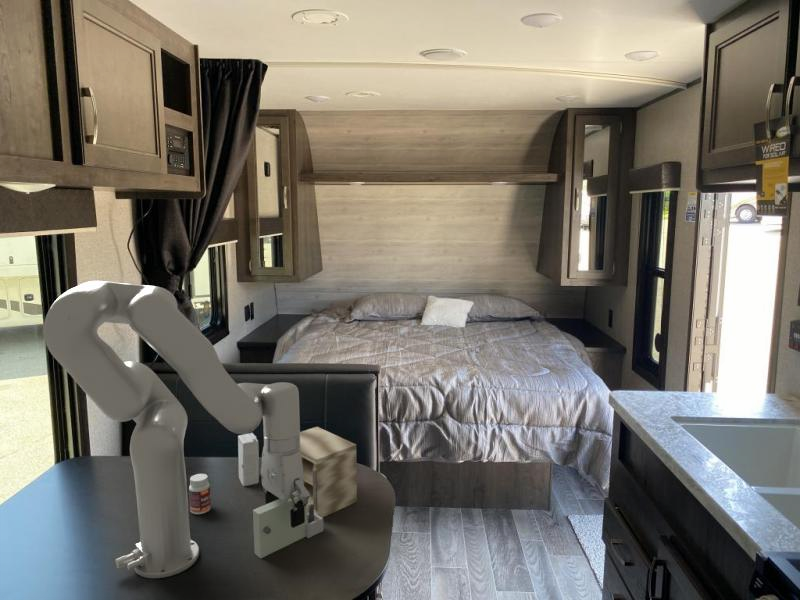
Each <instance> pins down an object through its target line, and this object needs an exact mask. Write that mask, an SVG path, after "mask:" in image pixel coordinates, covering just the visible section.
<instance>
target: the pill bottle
mask: <svg viewBox="0 0 800 600" xmlns="http://www.w3.org/2000/svg"><path fill="white" fill-rule="evenodd" d="M208 476H209V475H207V474H206V473H197V474H194V475H191V476H190V478H189V483H190V484H189V487H188V494H189V497H188V498H189V511H190V512H191V514H192V515H202V514H205V513H207V512H210V510H211V508H212V504H211V502H212V501H211V486H210V483H209V477H208Z"/></svg>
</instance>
